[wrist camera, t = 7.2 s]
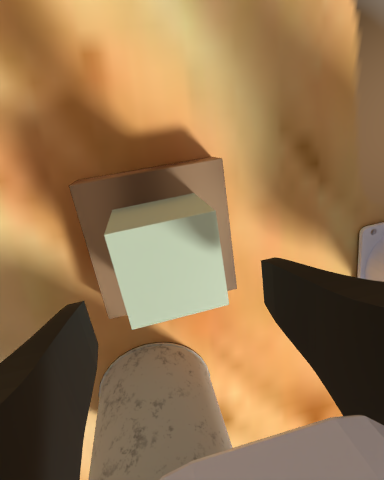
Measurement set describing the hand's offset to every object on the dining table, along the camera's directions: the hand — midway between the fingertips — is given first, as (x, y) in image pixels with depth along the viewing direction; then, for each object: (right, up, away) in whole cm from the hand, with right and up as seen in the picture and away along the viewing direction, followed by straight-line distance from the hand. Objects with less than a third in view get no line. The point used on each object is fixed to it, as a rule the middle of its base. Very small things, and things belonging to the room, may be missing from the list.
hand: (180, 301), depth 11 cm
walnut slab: (-2, +3, +9) cm, 10 cm away
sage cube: (-1, +3, +7) cm, 7 cm away
